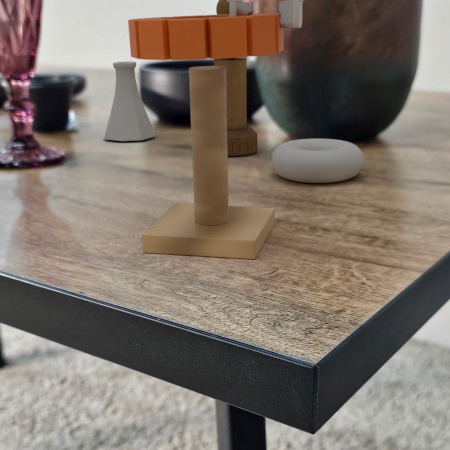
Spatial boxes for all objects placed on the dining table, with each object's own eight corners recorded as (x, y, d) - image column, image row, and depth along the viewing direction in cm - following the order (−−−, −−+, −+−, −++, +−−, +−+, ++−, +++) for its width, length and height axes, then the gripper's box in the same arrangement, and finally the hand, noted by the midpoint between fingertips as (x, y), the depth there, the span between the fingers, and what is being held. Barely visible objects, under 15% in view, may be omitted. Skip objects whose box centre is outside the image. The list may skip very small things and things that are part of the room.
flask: (162, 133, 105) (158, 59, 101) (146, 143, 99) (141, 65, 95) (114, 132, 107) (109, 59, 103) (95, 142, 100) (88, 65, 96)
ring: (110, 61, 52) (107, 21, 51) (158, 50, 62) (156, 16, 61) (268, 58, 49) (268, 16, 48) (292, 46, 59) (291, 12, 58)
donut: (262, 169, 84) (282, 188, 75) (262, 138, 83) (282, 155, 74) (347, 164, 86) (376, 183, 77) (348, 134, 84) (378, 149, 75)
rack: (142, 252, 58) (130, 74, 53) (175, 219, 66) (168, 61, 61) (255, 259, 56) (254, 74, 51) (274, 224, 64) (276, 62, 59)
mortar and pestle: (266, 148, 94) (266, -5, 87) (243, 158, 89) (242, -4, 82) (220, 144, 97) (216, -4, 90) (195, 154, 92) (190, -3, 85)
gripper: (99, -196, 48) (116, 31, 53) (426, -222, 43) (408, 29, 49) (132, -177, 54) (144, 27, 59) (424, -198, 49) (408, 24, 55)
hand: (266, 28), depth 54 cm, fingers closed on ring, 2 cm apart
